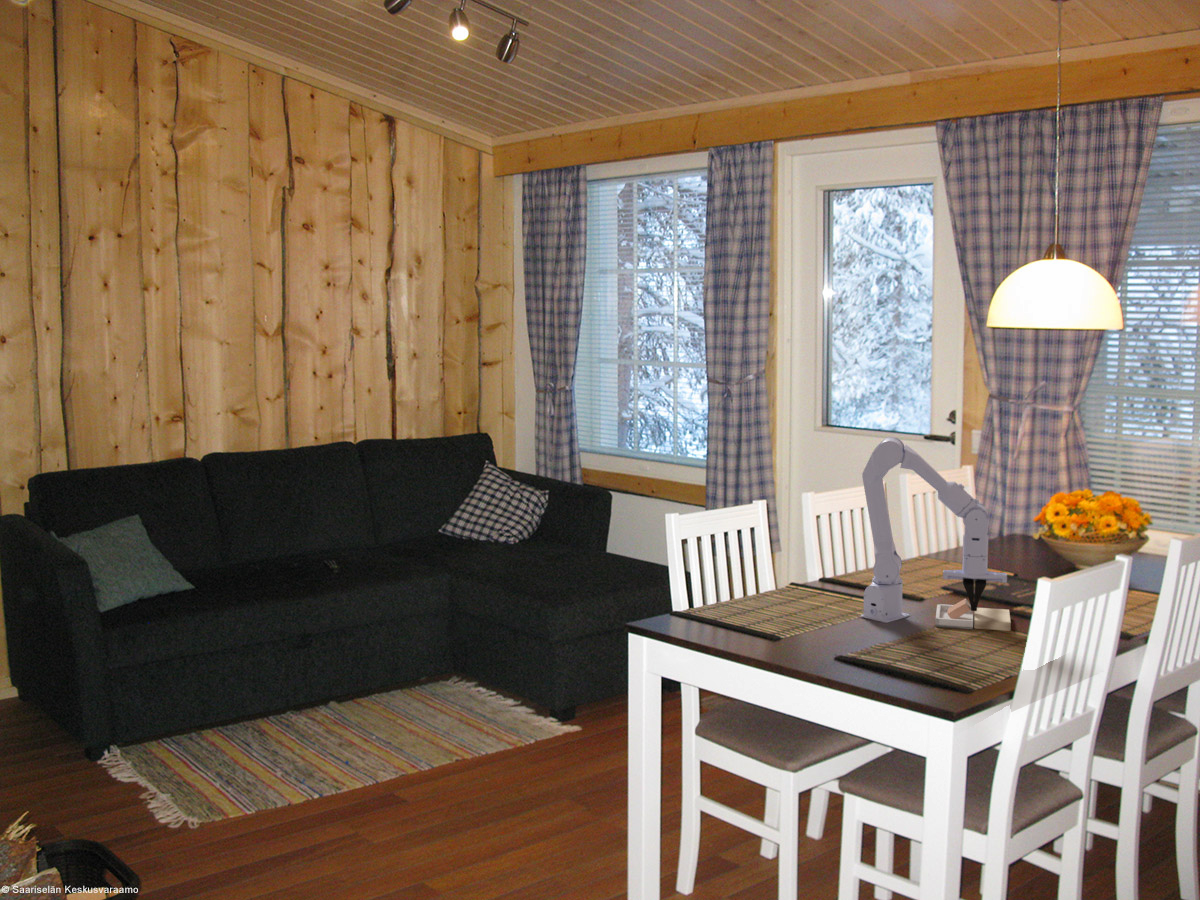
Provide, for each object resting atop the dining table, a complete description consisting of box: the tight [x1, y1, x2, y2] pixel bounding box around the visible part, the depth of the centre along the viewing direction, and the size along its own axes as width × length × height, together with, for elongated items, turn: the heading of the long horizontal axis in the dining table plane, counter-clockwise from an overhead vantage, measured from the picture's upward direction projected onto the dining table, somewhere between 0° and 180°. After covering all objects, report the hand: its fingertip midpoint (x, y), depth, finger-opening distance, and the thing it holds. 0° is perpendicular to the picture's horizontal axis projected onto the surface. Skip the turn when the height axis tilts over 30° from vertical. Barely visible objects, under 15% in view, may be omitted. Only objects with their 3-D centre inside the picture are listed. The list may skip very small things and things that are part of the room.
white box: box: [973, 607, 1012, 632], centre depth 266 cm, size 8×12×2 cm, turn 162°
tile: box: [948, 598, 971, 619], centre depth 268 cm, size 5×5×2 cm
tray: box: [935, 603, 974, 630], centre depth 269 cm, size 8×14×2 cm, turn 162°
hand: (973, 609), depth 267 cm, fingers closed
